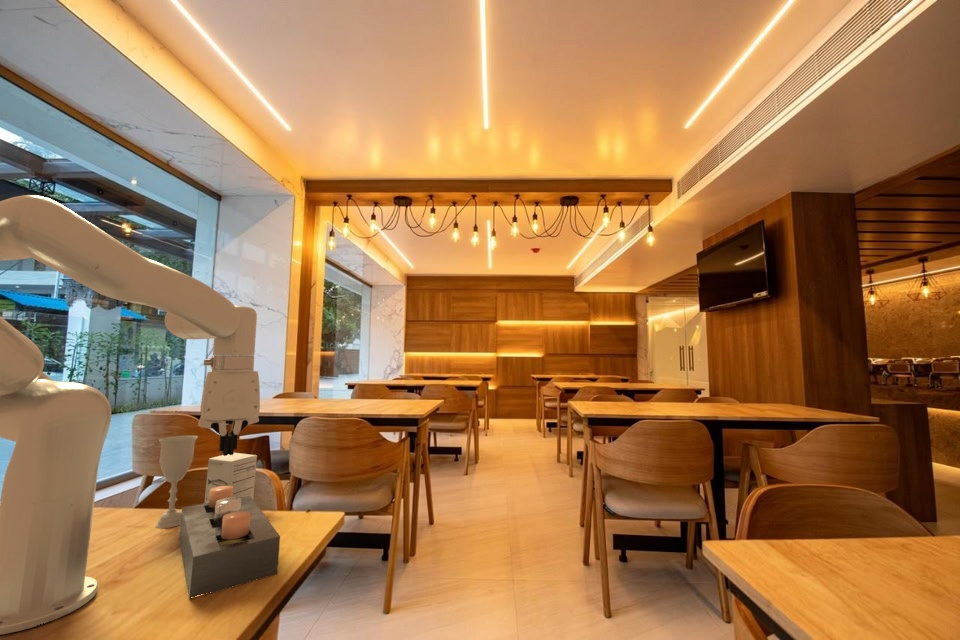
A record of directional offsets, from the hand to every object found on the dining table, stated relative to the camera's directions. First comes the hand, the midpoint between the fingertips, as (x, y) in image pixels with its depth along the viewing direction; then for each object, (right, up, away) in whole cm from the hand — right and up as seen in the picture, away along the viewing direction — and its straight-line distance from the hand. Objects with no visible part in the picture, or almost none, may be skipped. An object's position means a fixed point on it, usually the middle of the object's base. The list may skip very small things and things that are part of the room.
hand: (227, 453), depth 82 cm
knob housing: (+5, -15, -9) cm, 19 cm away
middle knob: (+5, -9, -9) cm, 13 cm away
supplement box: (-7, -18, +12) cm, 23 cm away
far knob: (0, -10, -2) cm, 10 cm away
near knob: (+11, -8, -15) cm, 21 cm away
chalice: (-15, -17, +4) cm, 23 cm away
